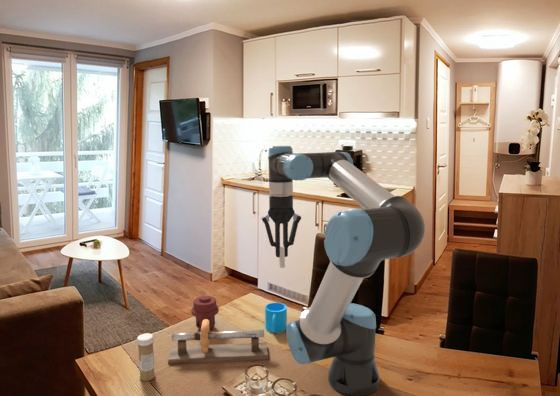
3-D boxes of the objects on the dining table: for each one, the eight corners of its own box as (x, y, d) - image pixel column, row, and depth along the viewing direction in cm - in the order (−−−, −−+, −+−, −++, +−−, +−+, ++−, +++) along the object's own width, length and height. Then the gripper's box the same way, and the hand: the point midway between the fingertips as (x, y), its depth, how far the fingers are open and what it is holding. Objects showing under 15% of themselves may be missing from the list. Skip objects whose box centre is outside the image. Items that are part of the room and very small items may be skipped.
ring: (208, 353, 140) (207, 330, 138) (200, 353, 139) (199, 330, 138) (210, 340, 147) (209, 319, 146) (202, 341, 147) (202, 319, 146)
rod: (263, 335, 146) (263, 328, 145) (264, 338, 143) (264, 331, 143) (173, 338, 143) (172, 331, 143) (171, 342, 141) (171, 335, 140)
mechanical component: (196, 321, 168) (221, 323, 167) (188, 334, 158) (215, 335, 157) (195, 291, 166) (221, 292, 165) (187, 302, 156) (214, 303, 155)
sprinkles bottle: (141, 373, 134) (138, 333, 131) (156, 372, 134) (154, 332, 132) (138, 382, 129) (135, 340, 127) (153, 381, 130) (151, 339, 127)
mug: (266, 321, 168) (266, 302, 166) (287, 322, 167) (287, 303, 166) (262, 337, 156) (262, 316, 155) (284, 338, 155) (284, 317, 154)
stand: (267, 359, 142) (267, 342, 141) (168, 363, 139) (167, 347, 138) (266, 346, 150) (266, 331, 149) (172, 350, 147) (171, 334, 146)
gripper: (298, 192, 142) (299, 261, 146) (259, 193, 140) (260, 264, 144) (303, 195, 135) (303, 268, 138) (261, 197, 133) (263, 271, 136)
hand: (281, 266), depth 141 cm, fingers closed
